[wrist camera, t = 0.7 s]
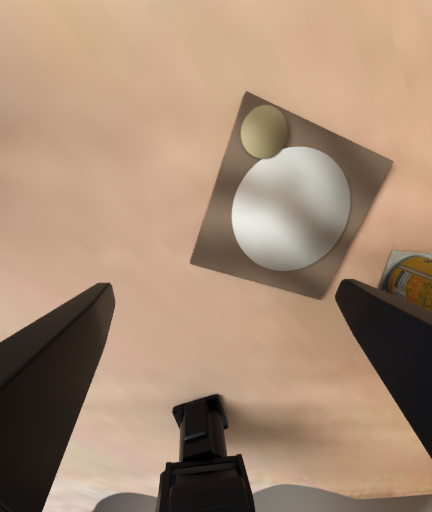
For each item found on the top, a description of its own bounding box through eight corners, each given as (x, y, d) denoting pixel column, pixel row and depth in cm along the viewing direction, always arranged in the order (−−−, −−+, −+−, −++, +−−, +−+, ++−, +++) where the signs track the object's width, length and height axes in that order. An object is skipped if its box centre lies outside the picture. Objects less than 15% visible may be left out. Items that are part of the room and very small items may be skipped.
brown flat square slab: (316, 296, 26) (324, 303, 25) (190, 260, 23) (190, 266, 21) (385, 162, 22) (401, 160, 21) (243, 95, 19) (248, 87, 17)
